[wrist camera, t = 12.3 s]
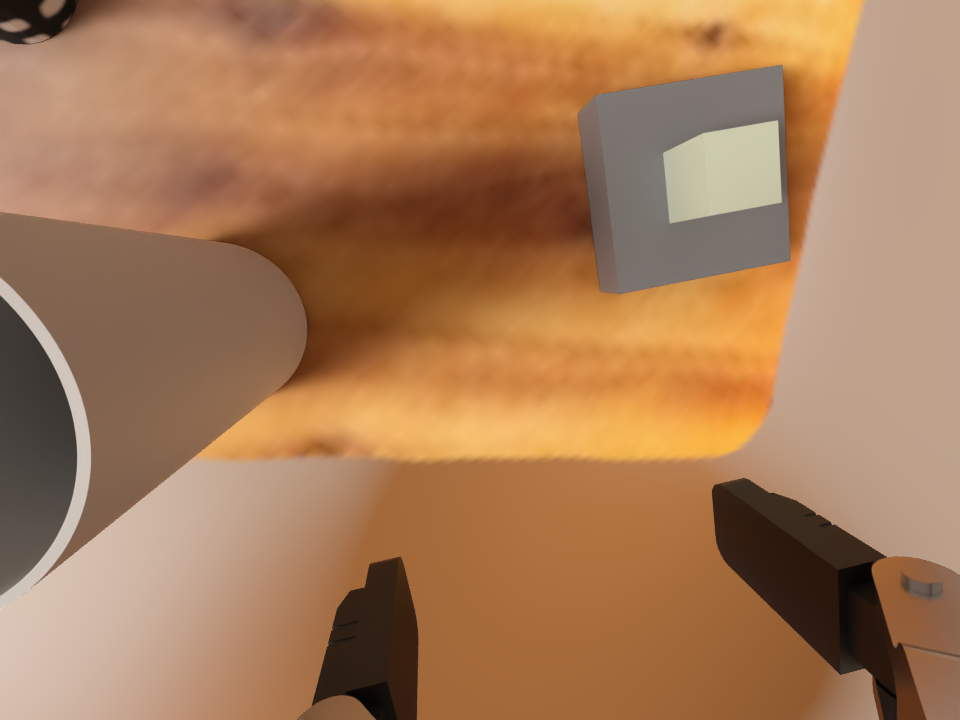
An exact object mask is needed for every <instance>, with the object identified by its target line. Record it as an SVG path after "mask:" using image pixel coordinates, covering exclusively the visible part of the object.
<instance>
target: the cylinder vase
mask: <svg viewBox="0 0 960 720" xmlns="http://www.w3.org/2000/svg"><path fill="white" fill-rule="evenodd" d="M306 341H307V319H306V314H305V310H304V307H303V304H302V301H301V298H300V296H299V294H298V292H297V290H296V289H295V287H294V286H293V284H292V283H291V281H290V280H289V279H288V277H287V276H286V275H285V274H284V273H283V272H282V271H281V270H280V269H279V268H278V267H277V266H276V265H275V264H273V263H272V262H271V261H269V260H268V259H267V258H265V257H263V256H262V255H260V254H258V253H256V252H254V251H252V250H250V249H247V248H245V247H242V246H238V245H234V244H230V243H223V242H216V241H209V240H201V239H194V238H187V237H180V236H172V235H165V234H158V233H150V232H143V231H136V230H128V229H121V228H114V227H106V226H99V225H92V224H85V223H77V222H70V221H63V220H55V219H48V218H41V217H33V216H26V215H19V214H11V213H4V212H0V610H1V609H3V608H5V607H6V606H8V605H9V604H11V603H12V602H14V601H15V600H16V599H18V598H19V597H21V596H22V595H23V594H24V593H26V592H27V591H28V590H29V589H31V588H32V587H33V586H34V585H36V584H37V583H38V582H39V581H40V580H42V579H43V578H44V577H45V576H47V575H48V574H49V573H51V572H52V571H53V570H54V569H56V568H57V567H58V566H59V565H61V564H62V563H63V562H64V561H65V560H67V559H68V558H69V557H70V556H72V555H73V554H74V553H75V552H77V551H78V550H79V549H80V548H81V547H83V546H84V545H85V544H87V543H88V542H89V541H90V540H92V539H93V538H94V537H95V536H96V535H98V534H99V533H100V532H101V531H103V530H104V529H105V528H106V527H108V526H109V525H110V524H111V523H113V522H114V521H115V520H116V519H118V518H119V517H120V516H121V515H123V514H124V513H125V512H126V511H127V510H129V509H130V508H131V507H133V506H134V505H135V504H136V503H137V502H139V501H140V500H141V499H142V498H144V497H145V496H146V495H147V494H148V493H150V492H151V491H152V490H154V489H155V488H156V487H157V486H159V485H160V484H161V483H162V482H164V481H165V480H166V479H167V478H168V477H170V476H171V475H172V474H173V473H175V472H176V471H177V470H178V469H180V468H181V467H182V466H183V465H185V464H186V463H187V462H188V461H190V460H191V459H192V458H193V457H195V456H196V455H197V454H198V453H200V452H201V451H202V450H203V449H205V448H206V447H207V446H208V445H209V444H211V443H212V442H213V441H214V440H216V439H217V438H218V437H219V436H221V435H222V434H223V433H224V432H226V431H227V430H228V429H229V428H231V427H232V426H233V425H234V424H236V423H237V422H238V421H239V420H241V419H242V418H243V417H244V416H245V415H247V414H248V413H249V412H250V411H252V410H253V409H254V408H255V407H257V406H258V405H259V404H260V403H262V402H263V401H264V400H265V399H267V398H268V397H269V396H270V395H272V394H273V393H274V392H275V391H277V390H278V389H279V388H280V387H281V386H283V385H284V384H285V383H286V382H287V381H288V380H289V378H290V377H291V376H292V375H293V373H294V372H295V370H296V369H297V367H298V365H299V364H300V361H301V359H302V357H303V354H304V351H305V347H306Z"/></svg>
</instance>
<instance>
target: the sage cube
mask: <svg viewBox="0 0 960 720" xmlns="http://www.w3.org/2000/svg"><path fill="white" fill-rule="evenodd" d="M663 158H664V169H665V179H666V190H667V200H668V211H669V222H670V223H675V222H681V221H686V220H692V219H697V218H702V217H708V216H713V215H718V214H724V213H729V212H734V211H740V210H745V209H750V208H755V207H761V206H766V205H771V204H776V203H782V197H781V175H780V153H779V131H778V120H777V121H771V122H765V123H759V124H754V125H748V126H742V127H736V128H730V129H725V130H719V131H713V132H707V133H702V134H700V135H698V136H696V137H694V138H692V139H690V140H688V141H686V142H684V143H682V144H680V145H678V146H676V147H674V148H672V149H670V150H668V151H666V152H664V153H663Z"/></svg>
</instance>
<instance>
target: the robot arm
mask: <svg viewBox="0 0 960 720" xmlns="http://www.w3.org/2000/svg"><path fill="white" fill-rule="evenodd" d="M712 500H713V511H714V523H715V535H716V542H717V546H718V549H719V551H720V554H721V555H722V557H723V559H724V560H725V562H726V563H727V564H728V566H729V567H731V568H732V569H733V570H734V571H735V572H736V573H737V574H738V575H739V576H740V577H741V578H742V579H743V580H744V581H745V582H746V583H747V584H748V585H749V586H750V587H751V588H752V589H753V590H754V591H755V592H756V593H757V594H758V595H759V596H760V597H761V598H762V599H763V600H764V601H765V602H767V604H768V605H769V606H770V607H771V608H772V609H773V610H774V611H776V612H777V613H778V614H779V615H780V616H781V617H782V618H783V619H784V620H785V621H786V622H787V623H788V624H789V625H790V626H791V627H792V628H793V629H794V630H795V631H796V632H797V633H798V634H799V635H800V636H801V637H802V638H803V639H804V640H805V641H806V642H807V643H808V644H809V645H810V646H811V647H812V648H813V649H814V650H815V651H817V652H818V653H819V654H820V655H821V656H822V657H823V658H824V659H825V660H826V661H827V662H828V663H829V664H830V665H831V666H832V667H833V668H834V669H835V670H836V671H837V672H838V673H839V674H840V675H842V674H846V673H849V672H853V671H857V670H860V669H864V668H865V669H866V670H867V671H868V672H869V673H870V674H872V685H873V694H874V699H875V703H876V708H877V712H878V717H879V720H960V575H959V574H957V573H956V572H954V571H952V570H950V569H948V568H946V567H943V566H941V565H939V564H936V563H933V562H930V561H926V560H922V559H917V558H911V557H886V556H884V555H883V554H881V553H879V552H878V551H876V550H875V549H873V548H872V547H870V546H868V545H867V544H865V543H863V542H862V541H860V540H859V539H857V538H855V537H854V536H852V535H850V534H849V533H847V532H846V531H844V530H842V529H841V528H839V527H838V526H836V525H832V524H831V522H830V521H828V520H826V519H825V518H823V517H822V516H820V515H816V514H815V512H814V511H812V510H810V509H809V508H807V507H806V506H804V505H802V504H801V503H799V502H797V501H796V500H793V499H790V498H787V497H784V496H781V495H778V494H775V493H768V492H767V491H765V490H764V489H762V488H761V487H759V486H758V485H756V484H755V483H753V482H751V481H750V480H748V479H746V478H742V479H738V480H733V481H730V482H724V483H720V484H716V485H714V487H713V489H712ZM332 628H333V631H331V634H330V638H329V642H328V643H329V646H328V647H327V650H326V654H325V657H324V661H323V665H322V669H321V673H320V676H319V680H318V684H317V688H316V692H315V695H314V699H313V703H312V707H310V708H309V709H307V710H306V711H305V712H304V713H303V714H302V715H301V716H300V717H299V718H298V719H297V720H417V683H418V627H417V619H416V614H415V609H414V605H413V601H412V597H411V593H410V588H409V584H408V580H407V576H406V572H405V568H404V564H403V561H402V558H401V557H397V558H392V559H387V560H383V561H379V562H374V563H371V564H370V565H369V570H368V574H367V579H366V585H365V588H360V589H356V590H352V591H350V592H349V593H348V595H347V596H346V597H345V599H344V600H343V601H342V603H341V604H340V606H339V607H338V608H337V611H336V615H335V619H334V623H333V627H332Z"/></svg>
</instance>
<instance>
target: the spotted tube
mask: <svg viewBox="0 0 960 720" xmlns="http://www.w3.org/2000/svg"><path fill="white" fill-rule="evenodd" d="M76 2H77V0H0V41H5V42H9V43H13V44H32V43H38V42H42V41H44V40H46V39H49V38H51V37H53V36H54V35H56V34H57V33H58V32H60V31H61V30H62V29H63V28H64V26H65V25H66V24H67V23H68V22H69V20H70V18H71V16H72V14H73V12H74V10H75V6H76Z"/></svg>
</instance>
